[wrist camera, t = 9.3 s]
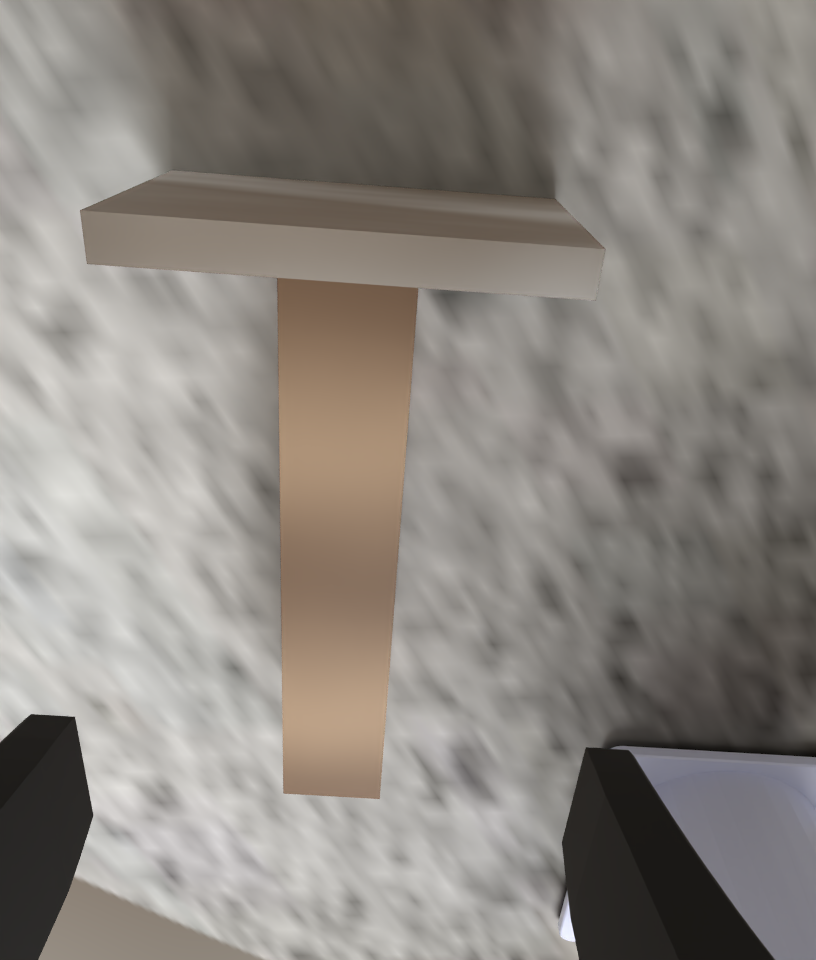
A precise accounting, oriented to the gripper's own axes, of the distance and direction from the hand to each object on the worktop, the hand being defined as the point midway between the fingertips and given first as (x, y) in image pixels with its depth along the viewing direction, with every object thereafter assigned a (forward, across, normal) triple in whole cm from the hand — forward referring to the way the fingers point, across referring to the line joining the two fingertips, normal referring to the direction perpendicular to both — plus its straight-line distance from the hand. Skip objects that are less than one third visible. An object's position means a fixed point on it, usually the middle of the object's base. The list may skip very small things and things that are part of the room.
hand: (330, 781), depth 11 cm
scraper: (+10, 0, 0) cm, 10 cm away
